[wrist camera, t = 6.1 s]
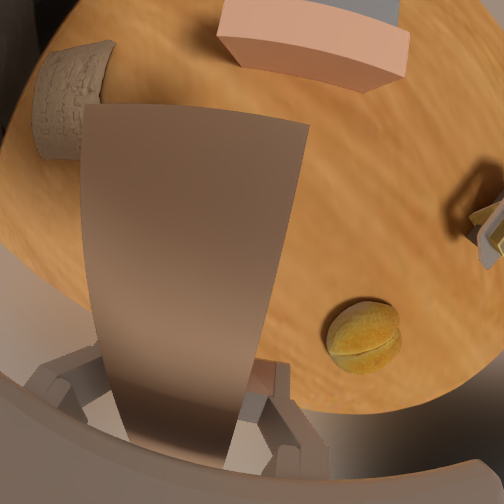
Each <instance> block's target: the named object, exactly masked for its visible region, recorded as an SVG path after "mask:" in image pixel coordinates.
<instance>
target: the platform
mask: <svg viewBox="0 0 504 504" xmlns="http://www.w3.org/2000/svg"><path fill="white" fill-rule="evenodd" d="M468 217H469V219H470V220H471V222H472V223H473V225H474V228H473V229H472V230H471V231H470V232H469V234H468V235H467V236H466V238H467V239H468V240H470V241H471V242H472V243H473V244H475V245H476V246H477V247H478V253H479V261H480V262H481V264H482V266H483V267H484V268H485V269H487V270H488V269H490V268H491V267H492V265H493V264H494V263H495V262H496V261H497V259H498V258H499V257H500V256H501V255H502V256H503V257H504V254H503V253H504V188H503V190H502V191H501V192H500V194H499V195H498V197H497V198H496V199H495V201H494V202H493V203H492V205H490V206H488V207H485V208H483V209H481V210H478V211H476V212H474V213H472V214H471V215H469V216H468Z"/></svg>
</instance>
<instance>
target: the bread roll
mask: <svg viewBox="0 0 504 504" xmlns="http://www.w3.org/2000/svg"><path fill="white" fill-rule="evenodd" d="M398 325H399V314H398V312H397V311H396V309H395V308H393V307H392V306H390V305H386V304H383V303H378V302H371V301H363V302H359V303H356V304H354V305H352V306H350V307H349V308H347V309H346V310H344V311H343V312H341V313H340V314H339V315H338V316H337V317H336V319H335V320H334V321H333V322H332V324H331V325H330V327H329V330H328V333H327V339H326V340H327V342H326V345H327V349H328V352H329V353H330V356H331V358H332V360H333V361H334V363H335V364H336V365H337V366H338V367H340V368H341V369H342V370H344V371H346V372H348V373H351V374H357V375H364V374H369V373H373V372H376V371H378V370H381V369H382V368H384V367H385V366H387V365H388V364H389V363H390V362H392V361H393V359H394V358H395V357H396V355H397V354H398V352H399V350H400V347H401V333H400V331H399V329H398Z"/></svg>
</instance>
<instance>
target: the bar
mask: <svg viewBox="0 0 504 504" xmlns="http://www.w3.org/2000/svg"><path fill="white" fill-rule="evenodd" d="M309 126H310V125H307V124H303V123H298V122H294V121H289V120H284V119H279V118H273V117H268V116H262V115H256V114H250V113H244V112H237V111H229V110H221V109H213V108H204V107H193V106H180V105H164V104H132V103H116V104H85V106H84V115H83V125H82V138H81V158H80V206H81V227H82V240H83V251H84V260H85V269H86V277H87V284H88V290H89V297H90V302H91V308H92V313H93V319H94V323H95V328H96V333H97V338H98V342H99V346H100V350H101V354H102V358H103V362H104V366H105V369H106V373H107V376H108V380H109V383H110V387H111V390H112V393H113V396H114V399H115V402H116V405H117V408H118V411H119V414H120V416H121V419H122V422H123V425H124V427H125V430H126V432H127V435H128V438H129V440H130V443H132V444H135V445H137V446H140V447H143V448H146V449H149V450H152V451H155V452H158V453H161V454H164V455H167V456H171V457H174V458H177V459H181V460H185V461H188V462H192V463H196V464H200V465H205V466H209V467H214V468H218V469H223V466H224V463H225V459H226V456H227V453H228V450H229V446H230V443H231V439H232V436H233V433H234V429H235V425H236V422H237V419H238V416H239V412H240V409H241V405H242V402H243V398H244V395H245V391H246V387H247V384H248V380H249V377H250V373H251V369H252V366H253V362H254V358H255V355H256V351H257V347H258V343H259V340H260V336H261V332H262V328H263V324H264V320H265V317H266V313H267V309H268V305H269V301H270V297H271V293H272V289H273V285H274V281H275V277H276V273H277V269H278V265H279V260H280V256H281V252H282V248H283V244H284V240H285V235H286V231H287V227H288V222H289V218H290V214H291V209H292V205H293V200H294V196H295V192H296V187H297V183H298V178H299V173H300V169H301V164H302V159H303V155H304V150H305V145H306V140H307V136H308V131H309Z"/></svg>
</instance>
